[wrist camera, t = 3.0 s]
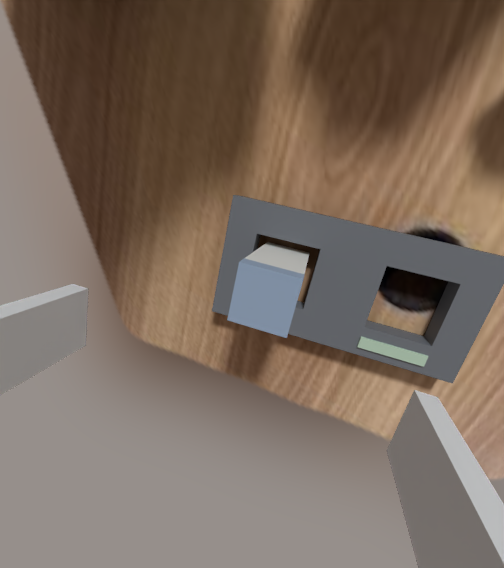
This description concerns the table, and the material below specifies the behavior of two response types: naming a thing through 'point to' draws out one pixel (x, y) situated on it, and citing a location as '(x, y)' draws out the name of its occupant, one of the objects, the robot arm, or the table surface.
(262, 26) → the table surface
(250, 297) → the plug
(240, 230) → the faceplate
